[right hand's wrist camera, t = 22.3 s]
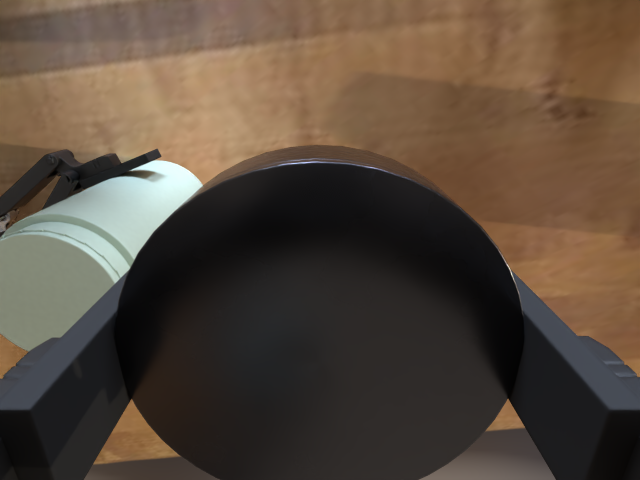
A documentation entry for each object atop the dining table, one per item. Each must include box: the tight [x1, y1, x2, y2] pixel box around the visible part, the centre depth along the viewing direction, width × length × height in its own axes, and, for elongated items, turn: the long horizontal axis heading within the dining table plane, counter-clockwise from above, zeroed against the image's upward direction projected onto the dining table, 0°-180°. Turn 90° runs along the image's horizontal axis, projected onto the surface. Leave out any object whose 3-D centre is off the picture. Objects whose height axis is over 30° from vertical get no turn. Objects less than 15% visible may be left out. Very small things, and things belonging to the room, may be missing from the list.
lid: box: [115, 145, 524, 480], centre depth 12 cm, size 11×11×2 cm
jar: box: [0, 161, 203, 351], centre depth 34 cm, size 10×10×20 cm
